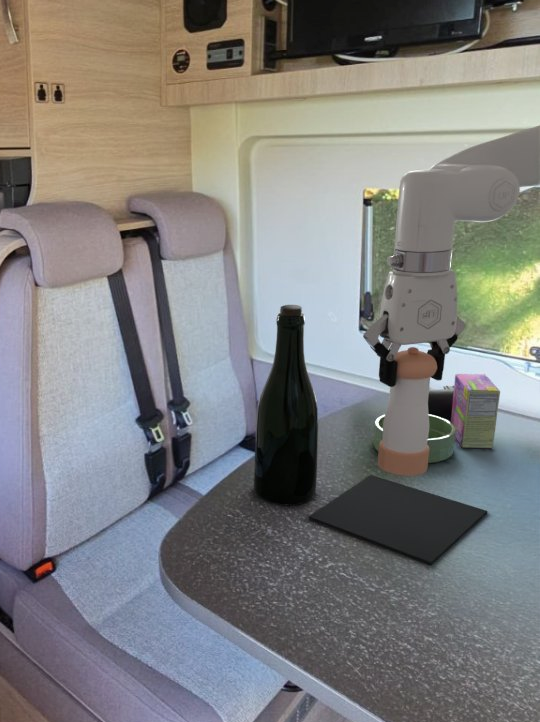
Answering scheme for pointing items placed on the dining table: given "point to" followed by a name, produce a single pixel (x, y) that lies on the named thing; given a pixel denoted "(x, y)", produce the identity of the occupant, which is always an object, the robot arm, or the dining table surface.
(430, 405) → the end cap
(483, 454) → the dining table surface
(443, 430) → the bowl
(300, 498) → the dark green wine bottle
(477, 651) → the dining table surface
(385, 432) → the pepper shaker
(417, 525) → the mat
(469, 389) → the box
